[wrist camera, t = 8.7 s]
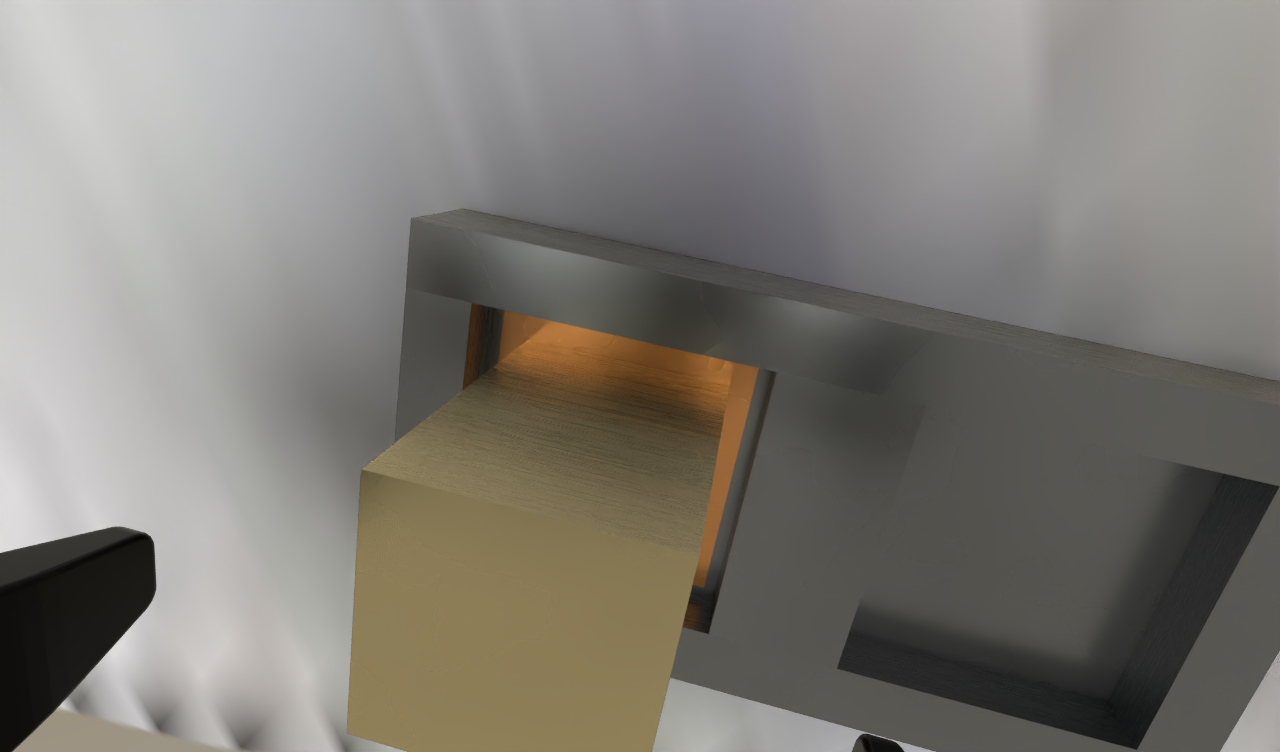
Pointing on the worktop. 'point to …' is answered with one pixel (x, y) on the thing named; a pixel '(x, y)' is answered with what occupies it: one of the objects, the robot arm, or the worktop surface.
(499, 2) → the worktop surface
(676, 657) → the grey slotted board
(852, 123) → the worktop surface
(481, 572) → the light wood beam
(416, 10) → the worktop surface
